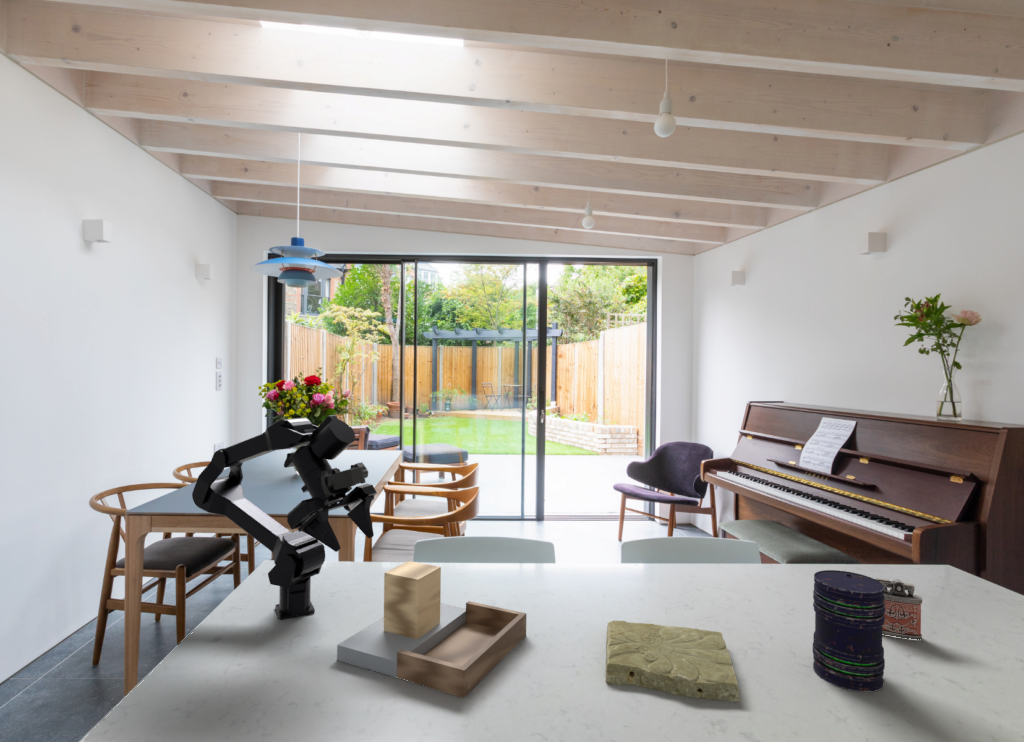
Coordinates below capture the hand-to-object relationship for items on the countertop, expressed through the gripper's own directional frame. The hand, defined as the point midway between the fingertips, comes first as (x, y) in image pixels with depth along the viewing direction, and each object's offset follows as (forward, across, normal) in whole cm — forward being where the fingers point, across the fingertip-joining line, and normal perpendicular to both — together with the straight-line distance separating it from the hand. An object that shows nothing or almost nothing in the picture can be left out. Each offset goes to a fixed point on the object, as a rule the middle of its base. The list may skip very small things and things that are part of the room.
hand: (355, 543), depth 106 cm
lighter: (+69, +41, -62) cm, 101 cm away
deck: (+19, 0, 0) cm, 19 cm away
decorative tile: (+47, +11, -33) cm, 58 cm away
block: (+18, 0, -2) cm, 18 cm away
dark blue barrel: (+63, +20, -54) cm, 85 cm away
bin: (+27, -1, -9) cm, 29 cm away
